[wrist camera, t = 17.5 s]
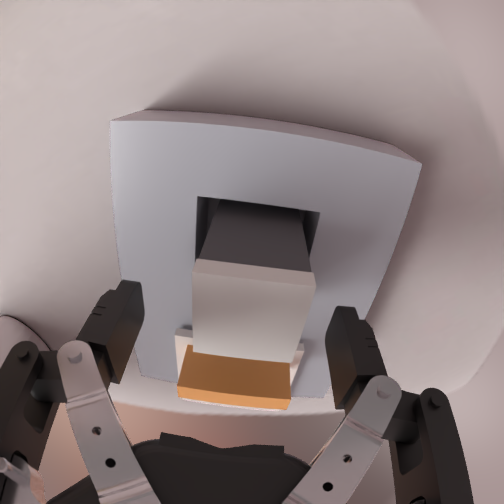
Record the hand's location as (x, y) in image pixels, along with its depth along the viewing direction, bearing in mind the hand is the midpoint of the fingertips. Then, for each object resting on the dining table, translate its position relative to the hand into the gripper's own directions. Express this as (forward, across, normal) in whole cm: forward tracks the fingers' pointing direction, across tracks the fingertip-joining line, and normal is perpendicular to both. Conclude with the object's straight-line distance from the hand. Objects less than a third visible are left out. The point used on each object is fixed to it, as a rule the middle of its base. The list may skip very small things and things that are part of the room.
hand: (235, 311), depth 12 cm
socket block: (+7, 0, +2) cm, 8 cm away
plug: (+7, -1, -1) cm, 7 cm away
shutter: (+3, 0, +9) cm, 9 cm away
